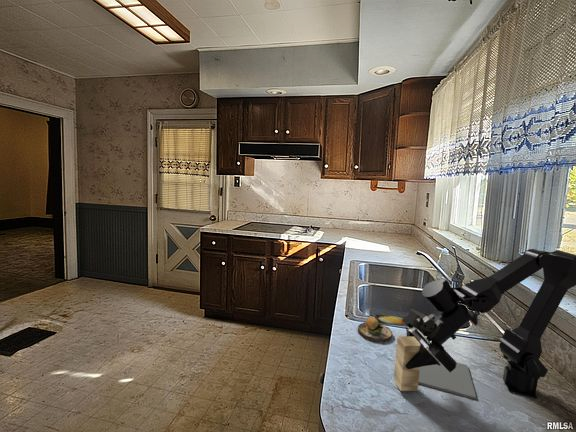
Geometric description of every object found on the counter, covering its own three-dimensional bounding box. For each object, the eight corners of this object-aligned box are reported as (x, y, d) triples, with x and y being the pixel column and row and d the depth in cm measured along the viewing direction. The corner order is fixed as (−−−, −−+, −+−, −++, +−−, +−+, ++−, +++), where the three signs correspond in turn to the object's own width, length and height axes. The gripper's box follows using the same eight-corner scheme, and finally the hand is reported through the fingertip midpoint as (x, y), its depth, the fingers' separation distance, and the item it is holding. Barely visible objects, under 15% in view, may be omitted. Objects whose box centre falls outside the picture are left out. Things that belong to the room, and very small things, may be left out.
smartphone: (417, 326, 117) (376, 322, 118) (417, 327, 117) (376, 324, 118) (411, 317, 124) (373, 314, 125) (411, 319, 124) (373, 315, 125)
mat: (467, 366, 93) (467, 364, 93) (475, 399, 79) (476, 397, 79) (403, 351, 100) (403, 349, 100) (401, 379, 86) (401, 377, 86)
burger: (393, 345, 104) (395, 324, 102) (357, 340, 106) (359, 320, 105) (389, 328, 115) (391, 309, 114) (357, 324, 117) (358, 305, 116)
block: (409, 379, 85) (414, 336, 83) (417, 390, 80) (422, 345, 79) (393, 379, 84) (397, 336, 83) (400, 390, 80) (404, 345, 78)
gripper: (411, 287, 89) (371, 324, 89) (449, 318, 70) (397, 363, 71) (435, 314, 90) (395, 349, 91) (478, 350, 72) (427, 394, 73)
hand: (402, 361), depth 81 cm, fingers closed on block, 4 cm apart
